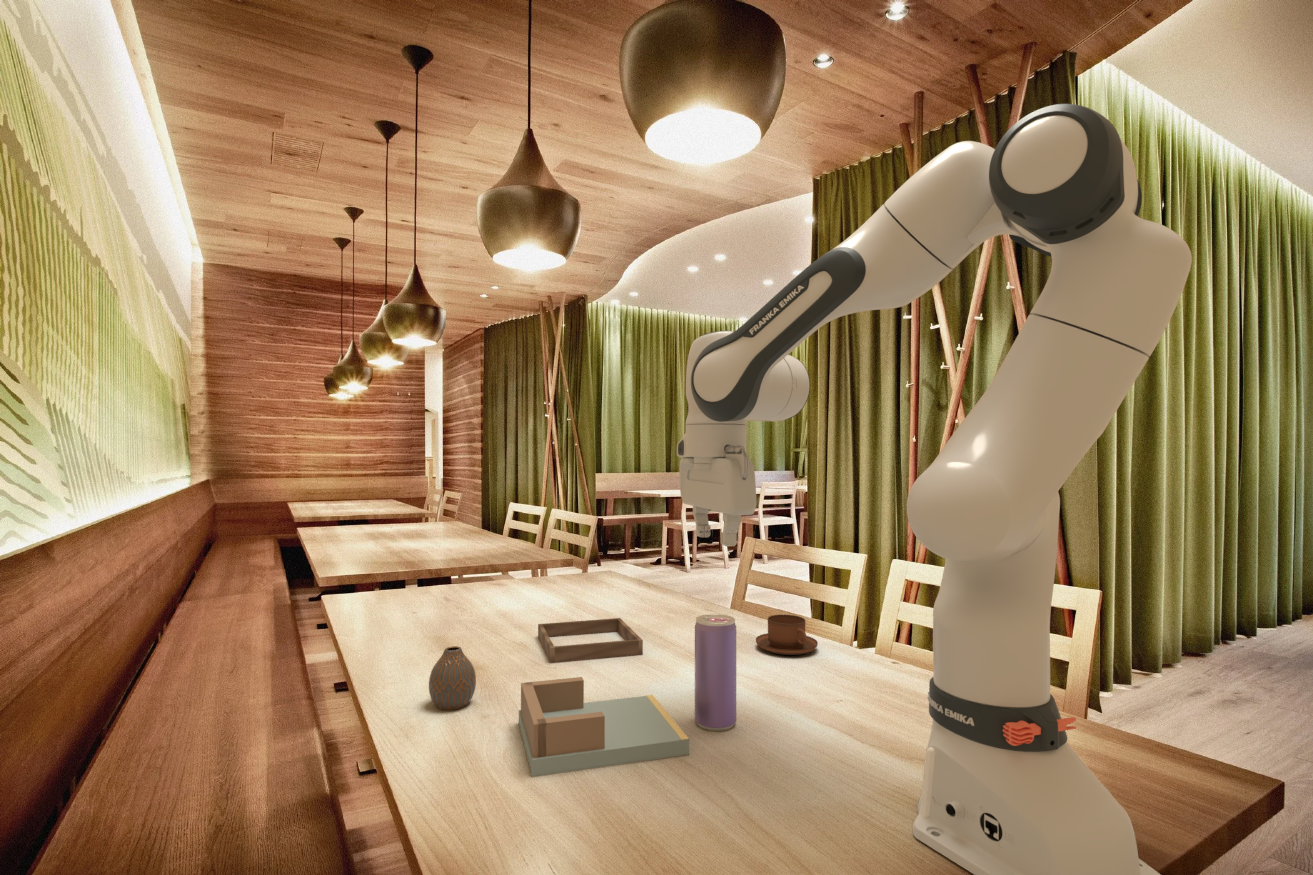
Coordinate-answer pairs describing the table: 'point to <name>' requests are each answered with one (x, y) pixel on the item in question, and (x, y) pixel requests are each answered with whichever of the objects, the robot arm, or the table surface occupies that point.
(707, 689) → the beverage can
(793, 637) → the cup and saucer
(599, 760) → the dock
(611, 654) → the serving tray frame
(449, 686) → the vase
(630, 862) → the table surface
